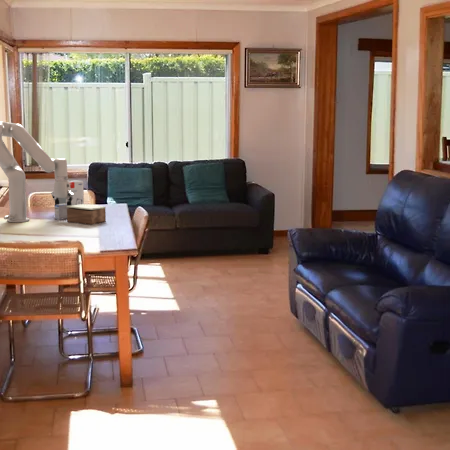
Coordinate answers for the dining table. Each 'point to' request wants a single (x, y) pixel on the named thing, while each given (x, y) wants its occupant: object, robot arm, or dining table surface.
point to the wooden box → (86, 216)
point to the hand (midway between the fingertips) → (63, 207)
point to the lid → (85, 207)
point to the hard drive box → (75, 193)
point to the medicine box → (60, 211)
